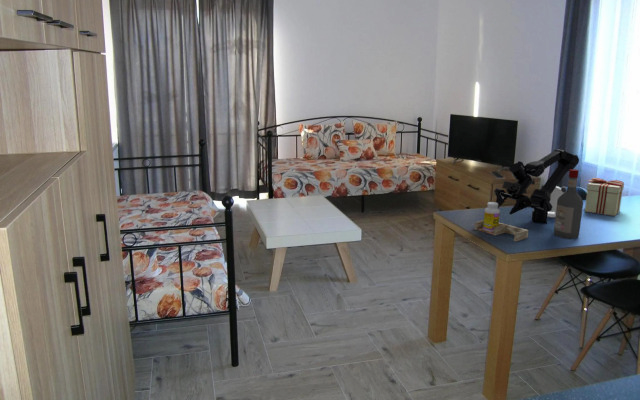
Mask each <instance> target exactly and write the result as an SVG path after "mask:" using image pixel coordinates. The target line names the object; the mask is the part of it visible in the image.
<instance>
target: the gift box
mask: <svg viewBox="0 0 640 400" xmlns="http://www.w3.org/2000/svg"><path fill="white" fill-rule="evenodd" d="M587 182H588V183H587V185H586V198H585V205H584V207H585V208H584V213H585V212H586V213H592V214H598V215H605V216H613V217H615V216H616V215H618V213H619V212H620V210H621V203H622V195H623V191H624V189H625V187H624V186H625V183H624V181H621V180H617V179H615V180H605V179H604V178H599V177H593V178H591V179H588V180H587Z"/></svg>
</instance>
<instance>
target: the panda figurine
mask: <svg viewBox="0 0 640 400" xmlns="http://www.w3.org/2000/svg"><path fill="white" fill-rule="evenodd" d="M544 184H545V183H544ZM544 184H542V185H541V187H540V189H541V188H542V187H543V186H544ZM566 191H567V187H566V186H561V187H560V186H558V185H557V186H556V188H555V189H554V190H553V192H552V193H551V200H550V204H551V205H552V210H551V211H550V212H548V215H547V218H555V217H556V208H557V200H558V198H559V197H560V196H561V195H562V194H563V193H565V192H566Z"/></svg>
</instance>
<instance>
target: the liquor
mask: <svg viewBox="0 0 640 400" xmlns="http://www.w3.org/2000/svg"><path fill="white" fill-rule="evenodd" d="M578 178H579V169H570V170H569V171H568V183H567V187H566V192H565V193H563V194H562V195H561V196H560V197H559V198H558V200H557V208H556V217H554V219H555V220H554V224H553V225H554V226H553V234H554V236H555V237H558V238H561V239H563V240H564V239H566V240H572V239H577V238H579V236H580V230H581V223H582V216H583V209H584V202H583V199H582V197H581V196H580V195H579V193H578V192H577V191H578V190H577V184H578V183H577V182H578Z"/></svg>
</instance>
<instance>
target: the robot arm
mask: <svg viewBox="0 0 640 400" xmlns="http://www.w3.org/2000/svg"><path fill="white" fill-rule="evenodd" d="M579 162H580V158H579V156H578V155H577V154H572V153H569V152H567V151H566V150H563V149H558V148H556V149H554V150H553V151H552V152H551V153H548V154H547V155H545V156H544V157H542V158H541V159H538V160H534V161H530V162H528V163H526V164H524V162H523V161H517V162H515V163H513V164H512V165H510V166H509V172H510V173H511V175H512V176H513V178H514V179H515V180H516V182H509V181H506V180H505V181H504V182H503V184H502V187H501V188H495V190H494V191H493V193H494V195H495V198H496V199H495V203H498V207H497V208H498V209H500V207H501V206H502V205H503V204H504V203H506V200H507V199H511V200H514V201H515V203H514V205H513V207H512V208H511V209H510V210H509V215H513V214H515V213H517V212H519V211H522V210H524V209H527V208H528V209H529V208H530V209H533V210H532V211H531V221H532V223H535V224H548V217H547V215H548V212H550V211H551V210H552V205H551V204H550V200H551V193H552V192H553V190H554V189H555V188H556V186H558V185H559V184H560V182H561V181H562V180H563V178H564V177H565V175H566V174H567V173H569V170H570V169H574V168H575V167H577V165H578V164H579ZM555 163H557V167H556V168H555V170H554V171H553V172H552V174H551V175H550V176H549V178H548V179H547V180H546V182H545V183H544V186H543V187H542V188H541V187H540V189H539V188H535V189H534V190H533V192H532V193H531V194H530V197H529V196H528V195H526V194H527V189H528V188H529V187H530V185H534V186H535V183H536V181H535V179H534V178H538V177H541V175H542V174H544V172H545V169H547V168H548V167H550V166H552V165H553V164H555ZM533 177H534V178H533ZM505 189H506V191H505Z"/></svg>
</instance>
